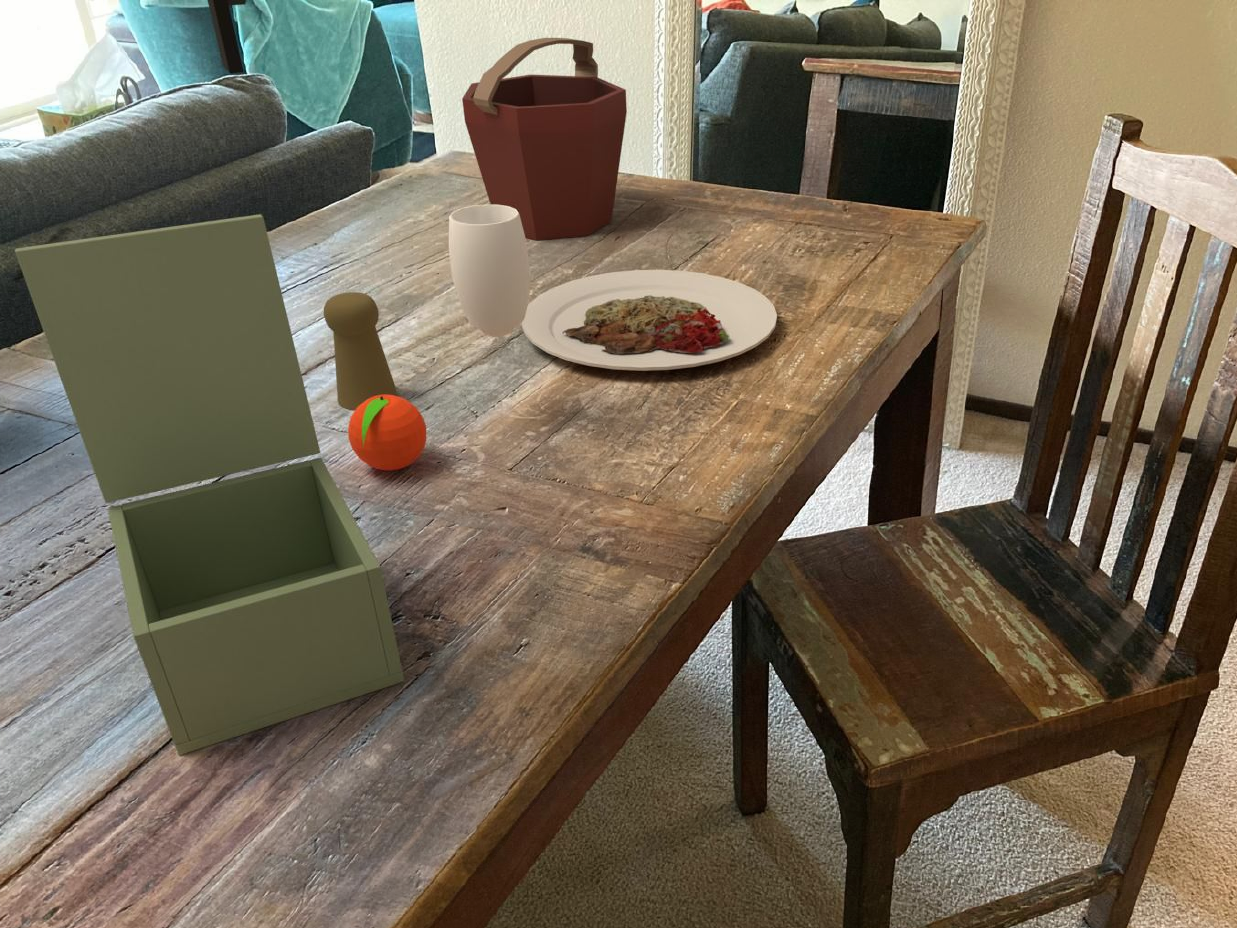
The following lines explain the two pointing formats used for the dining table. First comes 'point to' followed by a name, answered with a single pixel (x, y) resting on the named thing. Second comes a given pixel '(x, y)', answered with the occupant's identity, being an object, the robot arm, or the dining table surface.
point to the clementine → (387, 432)
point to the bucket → (548, 142)
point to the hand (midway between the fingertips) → (103, 80)
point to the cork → (357, 349)
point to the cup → (490, 266)
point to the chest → (253, 602)
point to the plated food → (649, 320)
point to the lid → (173, 352)
